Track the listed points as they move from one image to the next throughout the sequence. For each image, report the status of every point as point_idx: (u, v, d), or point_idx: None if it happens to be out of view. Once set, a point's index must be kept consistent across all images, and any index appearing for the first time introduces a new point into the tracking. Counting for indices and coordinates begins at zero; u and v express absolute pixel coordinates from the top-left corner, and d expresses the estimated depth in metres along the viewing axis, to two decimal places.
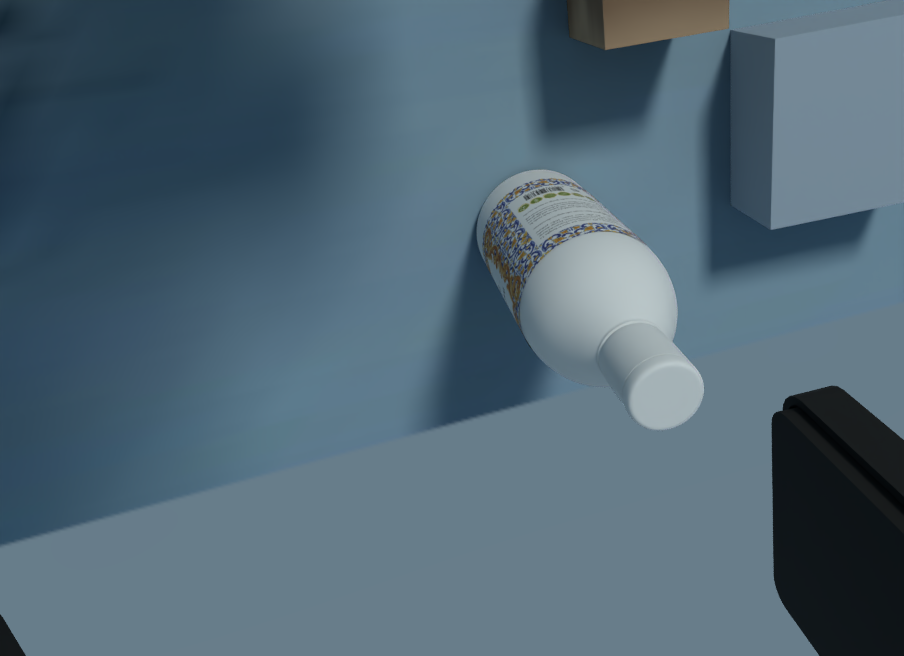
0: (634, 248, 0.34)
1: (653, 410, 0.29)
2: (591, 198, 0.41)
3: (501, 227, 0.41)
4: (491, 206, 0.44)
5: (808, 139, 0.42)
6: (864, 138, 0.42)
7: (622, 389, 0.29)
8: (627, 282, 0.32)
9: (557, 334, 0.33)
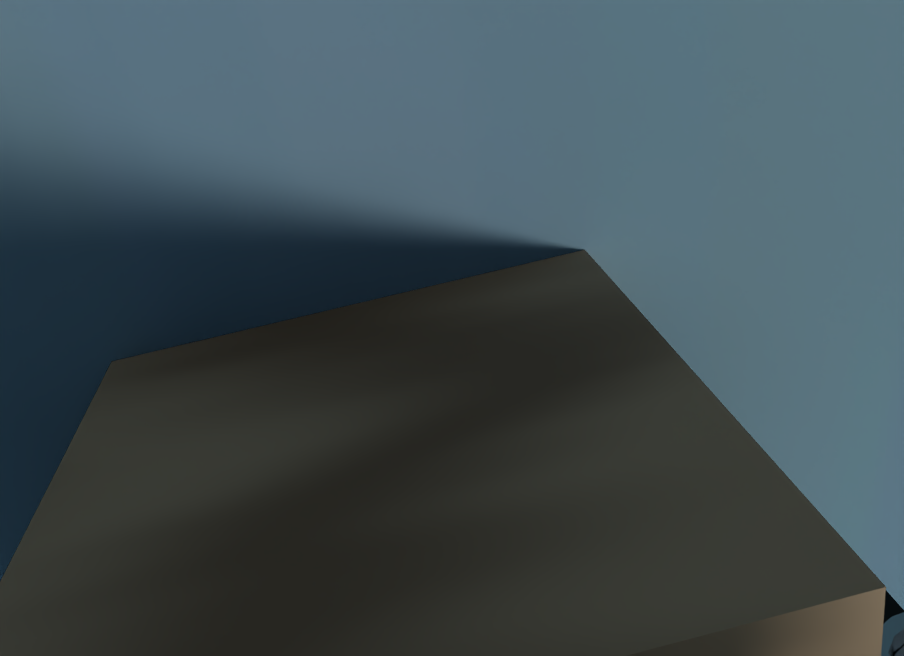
0: None
1: None
2: None
3: None
4: None
5: None
6: None
7: None
8: None
9: None
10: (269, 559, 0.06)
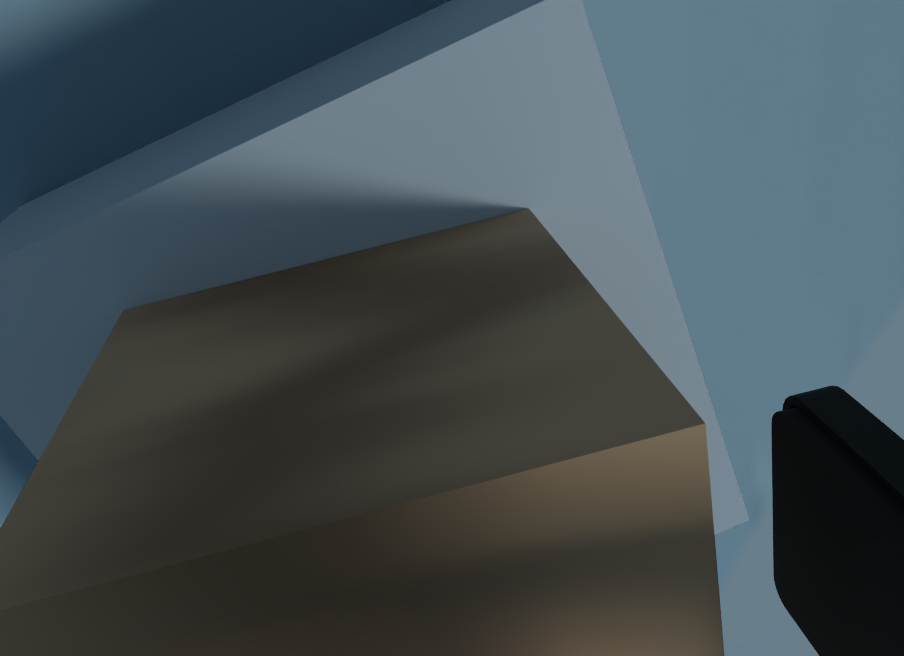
0: None
1: None
2: None
3: None
4: None
5: None
6: None
7: None
8: None
9: None
10: (250, 434, 0.08)
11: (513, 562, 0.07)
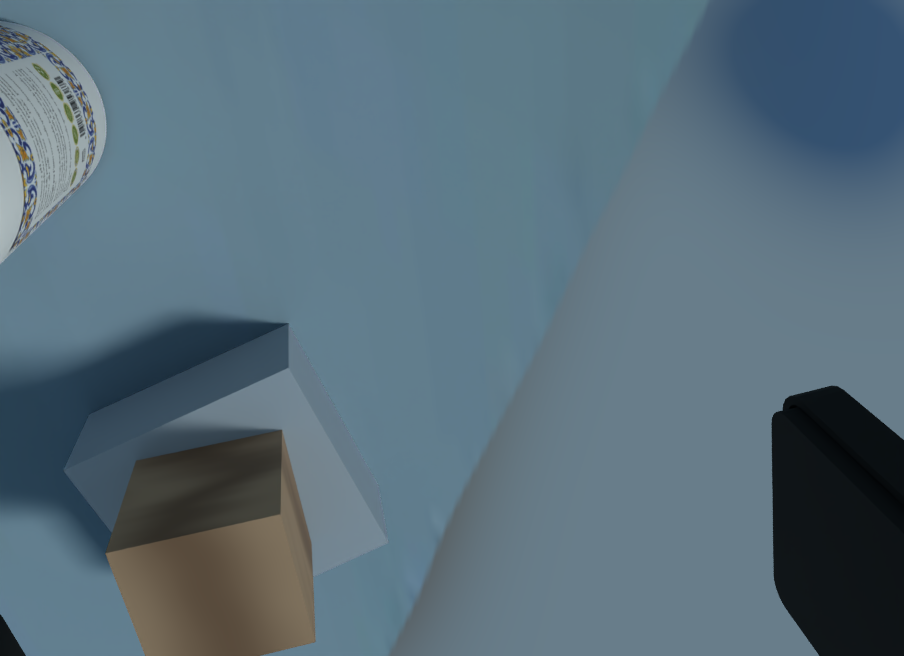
0: (0, 224, 0.21)
1: None
2: (74, 179, 0.28)
3: (1, 38, 0.26)
4: (34, 36, 0.29)
5: None
6: None
7: None
8: None
9: None
10: (177, 511, 0.29)
11: (237, 544, 0.28)
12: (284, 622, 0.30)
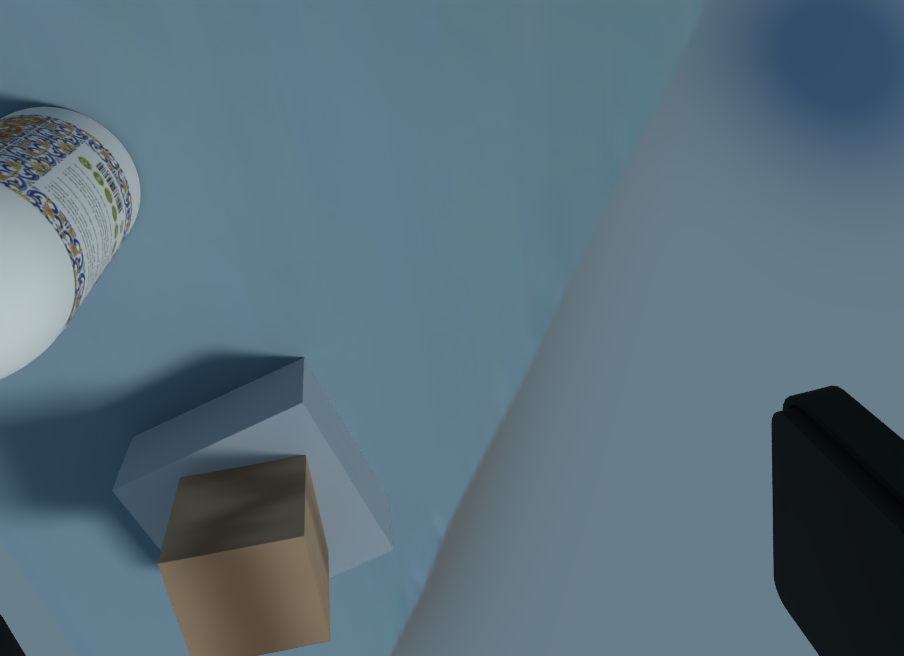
0: (57, 312, 0.26)
1: None
2: (114, 248, 0.32)
3: (51, 136, 0.30)
4: (78, 122, 0.33)
5: None
6: None
7: None
8: (3, 312, 0.23)
9: None
10: (216, 528, 0.34)
11: (267, 560, 0.33)
12: (304, 624, 0.35)
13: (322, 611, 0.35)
